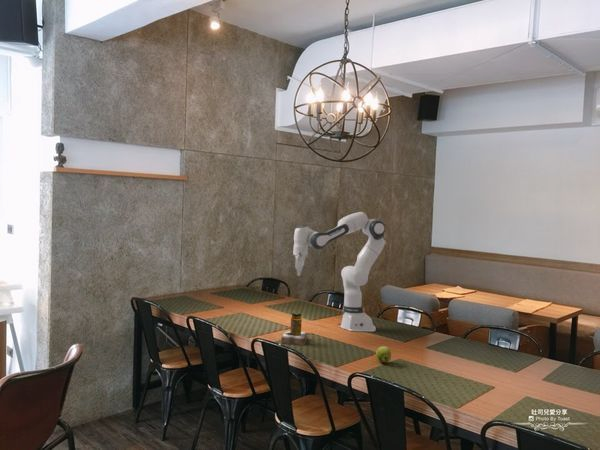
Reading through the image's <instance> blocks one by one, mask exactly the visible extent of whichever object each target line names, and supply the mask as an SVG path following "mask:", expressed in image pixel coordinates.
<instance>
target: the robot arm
mask: <svg viewBox="0 0 600 450" xmlns="http://www.w3.org/2000/svg"><path fill="white" fill-rule="evenodd" d="M359 230H360V232H361V233H362V235H364V236H367V237H368V240H366V241H367V242H366V243H365V245H364V246H363V247H362V248H361V250H360V252H358V254H357V257H356V258H357V259H356V261H355V264H354V265H347V266H344V267H343V268H341V271H340V274H341V279H342V284H343V290H344V291H343V293H344V298H343V300H344V301H343V306H342V319H341V323H340V328H342V329H343V330H346V331H349V332H367V333H368V332H371V333H372V332H376V330H377V327H376V326H375V325H374V323H373V319H372V317H370V316H369V315H368V314H366V308H365V307H364V306H362V299H363V298H362V297H363V293H362V291H361V287H362V286H365V285H366V284H367V283H368V281H369V273H370V271H371V268H372V267H373V265H374V263H375V262H376V260H377V259H378V257H379V256H380V254H381V252H382V251H383V250H384V247H385V244H386V241H385V239H384V236H385V232H386V224H385V222H383V221H382V220H380V219H373V218H372V219H369V218H368V216H367V214H366V213H365V212H363V211H358V212H354V213H351V214H348V215H345V216H344V217H342V218H341V219H339V220H338V221H337V225H336V227H334V228H332V229H330V230H327V231H325V232H319V231H315V230H314V229H312V228H309V227H308V225H299V226H297V227H295V229H294V233H293V234H294V235H293V241H294V242H293V251H292V252H293V253H292V255H293V256H294V258H295V265H294V266H295V267H294V268H295V269H296V275H297V276H298V277H300V276H301V274H302V272H303V267H304V265H305V259H306V256H308V254H309V253H308V251H309V247H313V248H314V249H316V250H322V249H324V248H326V247H327V246H328V244H329V243H331V242H333V241H335V240H336V239H338V238H341V237H342V236H345V235H349V234H353V233H355V232H356V231H359Z"/></svg>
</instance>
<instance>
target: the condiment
mask: <svg viewBox="0 0 600 450" xmlns="http://www.w3.org/2000/svg"><path fill="white" fill-rule="evenodd" d="M302 321H303V320H302V313H300V312H293V313H291V318H290V330H289V331H290V333H285V334H287V335H288V336H291V337H293V336H301V335H303V334H301V332H302Z"/></svg>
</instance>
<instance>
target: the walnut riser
mask: <svg viewBox="0 0 600 450" xmlns="http://www.w3.org/2000/svg"><path fill="white" fill-rule="evenodd" d="M285 333H290V330H284V332H283V334H282V335H281V342H280V343H281V344H285V345H298V346H299V345H301V346H305V345H306V342H307V335H308V333H307V332H306V331H301V334H303V335H301V336H293V337H291V336H288V335H287V334H285Z"/></svg>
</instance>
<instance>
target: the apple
mask: <svg viewBox="0 0 600 450" xmlns="http://www.w3.org/2000/svg"><path fill="white" fill-rule="evenodd" d="M375 358H376V360H377V361H378V362H380V363H382V364H384V363H385V364H386V363H388V362H389V361H390V360H391V358H392V352H391V349H390V348H389V347H388V346H383V345H381V346H380V347H378V348H377V349H376V352H375Z"/></svg>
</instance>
